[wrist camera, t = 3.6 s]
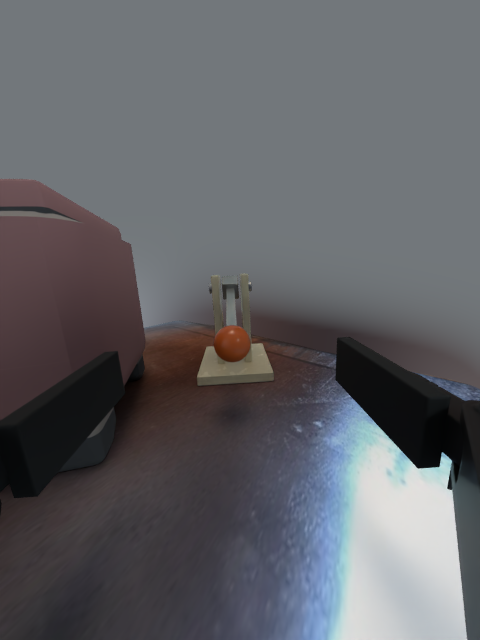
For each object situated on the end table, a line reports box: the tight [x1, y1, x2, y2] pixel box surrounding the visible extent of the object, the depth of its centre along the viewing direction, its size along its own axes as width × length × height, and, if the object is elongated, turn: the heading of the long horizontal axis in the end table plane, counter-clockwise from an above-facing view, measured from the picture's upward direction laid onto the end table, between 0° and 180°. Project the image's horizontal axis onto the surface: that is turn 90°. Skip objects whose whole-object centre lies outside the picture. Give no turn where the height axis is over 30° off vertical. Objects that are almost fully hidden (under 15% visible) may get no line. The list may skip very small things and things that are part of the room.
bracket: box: [197, 274, 274, 386], centre depth 35 cm, size 12×10×14 cm
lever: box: [214, 276, 251, 362], centre depth 28 cm, size 16×4×4 cm, turn 2°
